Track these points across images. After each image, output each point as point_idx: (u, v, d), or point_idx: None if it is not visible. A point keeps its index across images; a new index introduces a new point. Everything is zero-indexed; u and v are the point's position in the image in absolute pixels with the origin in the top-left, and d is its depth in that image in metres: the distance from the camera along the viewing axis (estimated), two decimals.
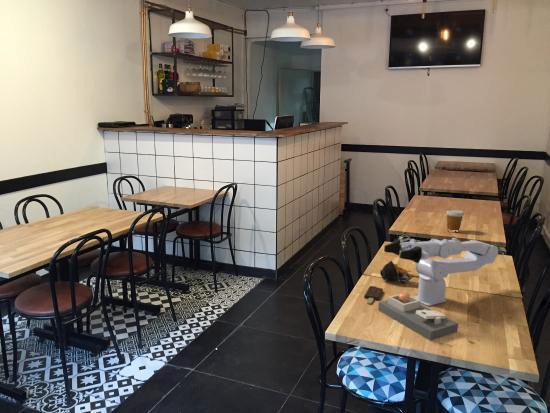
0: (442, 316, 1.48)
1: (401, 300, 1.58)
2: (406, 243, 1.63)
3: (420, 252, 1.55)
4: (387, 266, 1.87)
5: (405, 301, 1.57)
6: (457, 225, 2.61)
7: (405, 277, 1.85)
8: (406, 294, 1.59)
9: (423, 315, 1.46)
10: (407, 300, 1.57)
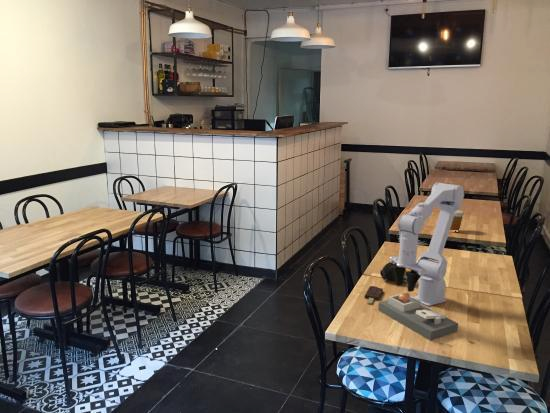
0: (442, 316, 1.48)
1: (401, 300, 1.58)
2: None
3: (414, 275, 1.52)
4: (387, 266, 1.87)
5: (405, 301, 1.57)
6: (457, 225, 2.61)
7: (405, 277, 1.85)
8: (406, 294, 1.59)
9: (423, 315, 1.46)
10: (407, 300, 1.57)
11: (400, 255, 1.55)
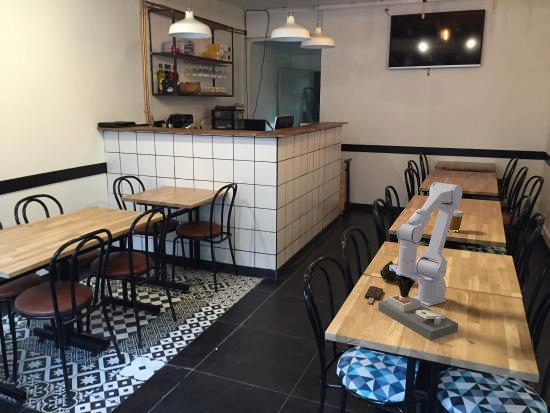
0: (442, 316, 1.48)
1: None
2: None
3: (408, 281, 1.54)
4: (387, 266, 1.87)
5: None
6: (457, 225, 2.61)
7: None
8: None
9: (423, 315, 1.46)
10: (407, 302, 1.57)
11: (399, 264, 1.55)
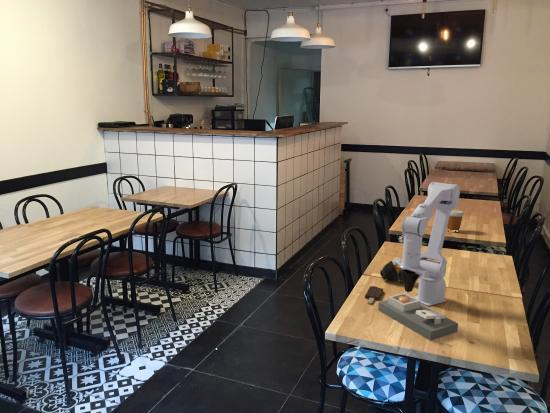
0: (442, 316, 1.48)
1: None
2: None
3: (413, 275, 1.51)
4: (387, 266, 1.87)
5: None
6: (457, 225, 2.61)
7: None
8: (406, 297, 1.59)
9: (423, 315, 1.46)
10: None
11: (403, 257, 1.52)
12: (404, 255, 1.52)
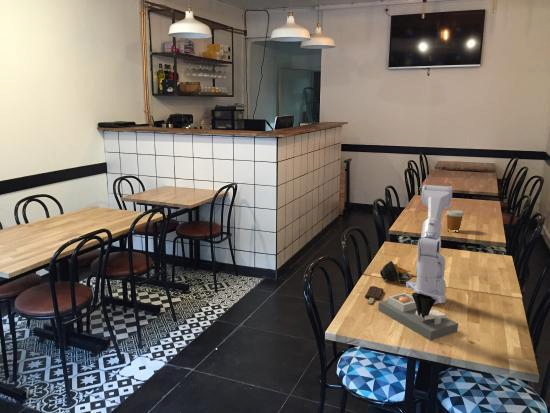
0: (442, 316, 1.48)
1: None
2: None
3: (429, 300, 1.42)
4: (387, 266, 1.87)
5: None
6: (457, 225, 2.61)
7: (405, 277, 1.85)
8: (406, 297, 1.59)
9: None
10: None
11: (418, 280, 1.43)
12: (419, 278, 1.43)
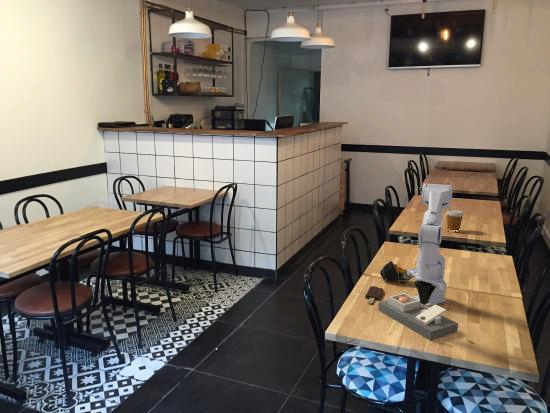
0: (442, 312, 1.48)
1: None
2: None
3: (429, 287, 1.42)
4: (387, 266, 1.87)
5: None
6: (457, 225, 2.61)
7: (405, 277, 1.85)
8: (406, 297, 1.59)
9: (423, 322, 1.46)
10: None
11: (419, 268, 1.43)
12: (420, 265, 1.42)
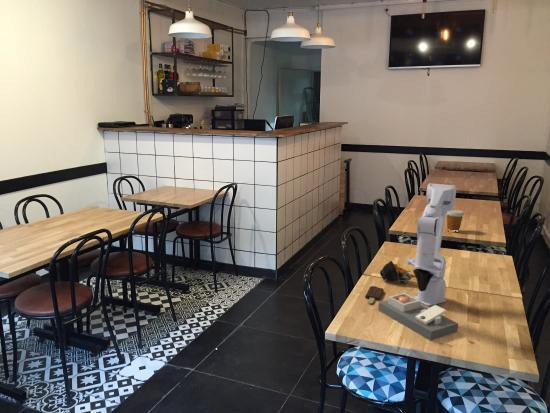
0: (442, 312, 1.48)
1: None
2: None
3: (427, 274, 1.52)
4: (387, 266, 1.87)
5: None
6: (457, 225, 2.61)
7: (405, 277, 1.85)
8: (406, 297, 1.59)
9: (422, 321, 1.46)
10: None
11: (418, 257, 1.53)
12: (418, 255, 1.53)
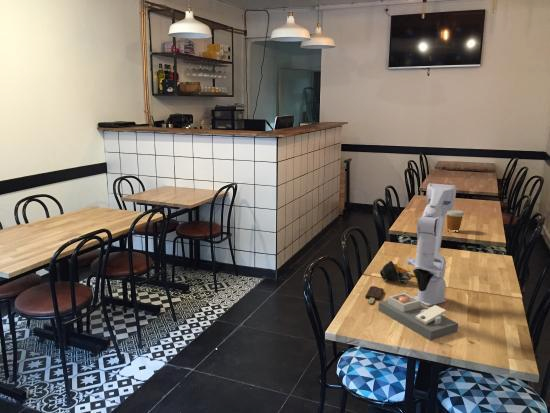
0: (442, 312, 1.48)
1: None
2: None
3: (427, 274, 1.52)
4: (387, 266, 1.87)
5: None
6: (457, 225, 2.61)
7: (405, 277, 1.85)
8: (406, 297, 1.59)
9: (422, 321, 1.46)
10: None
11: (418, 257, 1.53)
12: (418, 255, 1.53)
